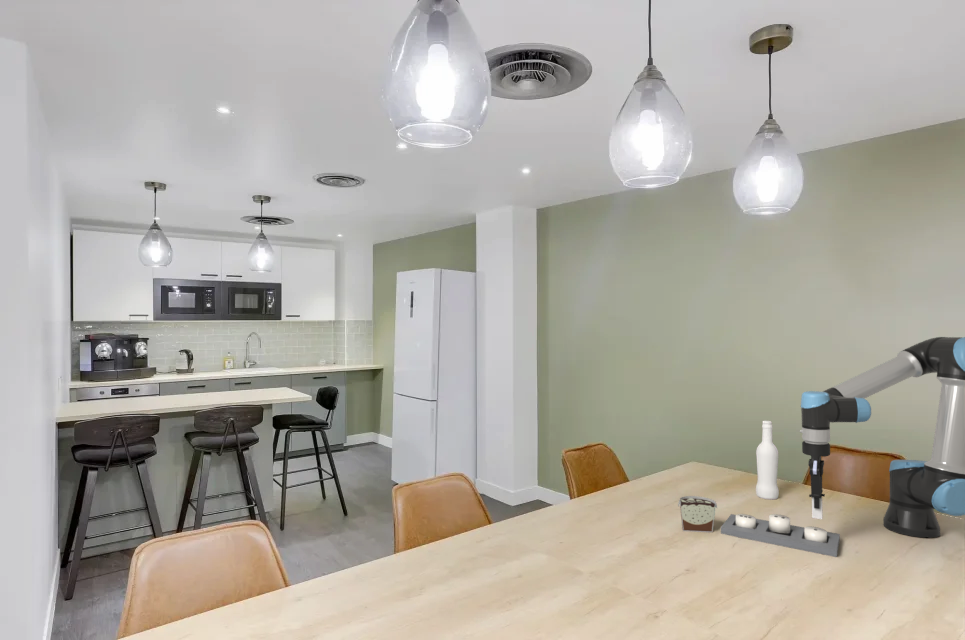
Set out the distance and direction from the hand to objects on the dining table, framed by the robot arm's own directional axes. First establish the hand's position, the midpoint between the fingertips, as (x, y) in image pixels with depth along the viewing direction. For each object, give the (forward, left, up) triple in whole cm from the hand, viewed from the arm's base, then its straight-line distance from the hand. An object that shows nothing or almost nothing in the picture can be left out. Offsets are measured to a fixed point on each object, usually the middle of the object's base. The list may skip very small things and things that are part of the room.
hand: (817, 517), depth 176 cm
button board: (+10, 0, -8) cm, 13 cm away
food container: (+34, +8, -8) cm, 36 cm away
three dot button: (+20, 0, -8) cm, 22 cm away
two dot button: (+10, 0, -6) cm, 12 cm away
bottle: (+21, -45, -8) cm, 50 cm away
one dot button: (+1, 0, -8) cm, 8 cm away
